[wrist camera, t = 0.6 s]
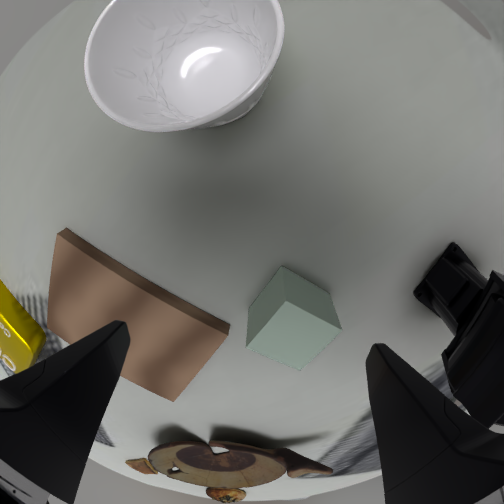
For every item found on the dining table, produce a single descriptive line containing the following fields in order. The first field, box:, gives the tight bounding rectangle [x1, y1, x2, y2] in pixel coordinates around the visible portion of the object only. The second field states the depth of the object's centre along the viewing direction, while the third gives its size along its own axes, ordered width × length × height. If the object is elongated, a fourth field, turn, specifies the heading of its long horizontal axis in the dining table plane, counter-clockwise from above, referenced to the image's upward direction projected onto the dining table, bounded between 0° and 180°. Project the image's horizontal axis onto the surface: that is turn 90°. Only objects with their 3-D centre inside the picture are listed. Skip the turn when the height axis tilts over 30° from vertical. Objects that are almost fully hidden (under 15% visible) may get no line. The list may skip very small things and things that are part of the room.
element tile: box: [0, 280, 46, 374], centre depth 26 cm, size 15×15×5 cm
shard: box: [125, 458, 158, 474], centre depth 45 cm, size 11×8×2 cm
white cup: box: [84, 0, 284, 132], centre depth 11 cm, size 8×8×10 cm
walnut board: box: [47, 228, 230, 402], centre depth 24 cm, size 18×14×2 cm
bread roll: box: [206, 487, 246, 503], centre depth 49 cm, size 11×11×5 cm
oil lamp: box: [148, 441, 333, 489], centre depth 33 cm, size 22×30×8 cm
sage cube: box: [246, 266, 342, 371], centre depth 21 cm, size 5×5×5 cm
